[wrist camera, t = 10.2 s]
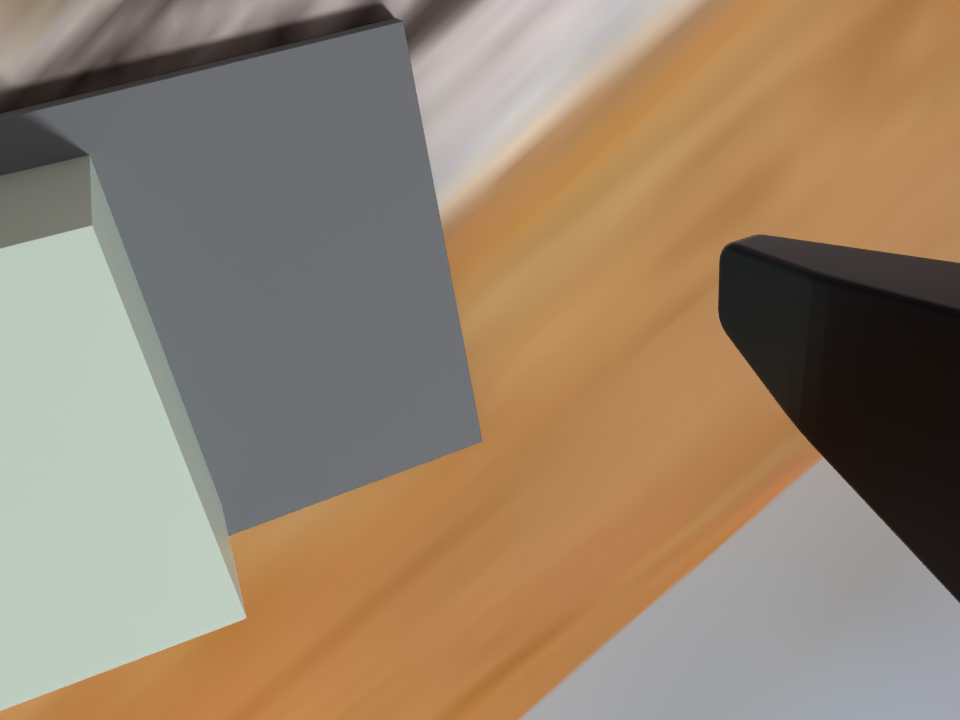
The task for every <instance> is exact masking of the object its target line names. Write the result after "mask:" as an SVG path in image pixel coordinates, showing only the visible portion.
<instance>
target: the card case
mask: <svg viewBox="0 0 960 720" xmlns="http://www.w3.org/2000/svg"><path fill="white" fill-rule="evenodd" d="M246 618H247V617H246V613H245V608H244V604H243V599H242V595H241V590H240V586H239V581H238V576H237V572H236V567H235V563H234V558H233V554H232V549H231V545H230V540H229V536H228V531H227V527H226V522H225V517H224V513H223V508H222V504H221V502H220V499H219V496H218V494H217V491H216V488H215V486H214V483H213V481H212V478H211V475H210V473H209V470H208V467H207V465H206V462H205V459H204V457H203V454H202V451H201V449H200V446H199V443H198V441H197V438H196V435H195V433H194V430H193V428H192V425H191V422H190V420H189V417H188V414H187V412H186V409H185V406H184V404H183V401H182V398H181V396H180V393H179V390H178V388H177V385H176V383H175V380H174V377H173V375H172V372H171V369H170V367H169V364H168V361H167V359H166V356H165V353H164V351H163V348H162V345H161V343H160V340H159V337H158V335H157V332H156V330H155V327H154V324H153V322H152V319H151V316H150V314H149V311H148V308H147V306H146V303H145V300H144V298H143V295H142V292H141V290H140V287H139V284H138V282H137V279H136V277H135V274H134V271H133V269H132V266H131V263H130V261H129V258H128V255H127V253H126V250H125V247H124V245H123V242H122V239H121V237H120V234H119V232H118V229H117V226H116V224H115V221H114V218H113V216H112V213H111V210H110V208H109V205H108V202H107V200H106V197H105V194H104V192H103V189H102V186H101V184H100V181H99V179H98V176H97V173H96V171H95V168H94V165H93V163H92V160H91V157H90V155H88V156H83V157H79V158H75V159H71V160H66V161H62V162H58V163H53V164H49V165H45V166H40V167H36V168H32V169H28V170H23V171H19V172H15V173H10V174H6V175H2V176H0V711H1V710H4V709H7V708H9V707H12V706H15V705H17V704H20V703H23V702H25V701H28V700H31V699H33V698H36V697H39V696H41V695H44V694H47V693H49V692H52V691H55V690H57V689H60V688H63V687H65V686H68V685H71V684H73V683H76V682H79V681H81V680H84V679H86V678H89V677H92V676H94V675H97V674H100V673H102V672H105V671H108V670H110V669H113V668H116V667H118V666H121V665H124V664H126V663H129V662H132V661H134V660H137V659H140V658H142V657H145V656H148V655H150V654H153V653H156V652H158V651H161V650H164V649H166V648H169V647H172V646H174V645H177V644H180V643H182V642H185V641H188V640H190V639H193V638H196V637H198V636H201V635H204V634H206V633H209V632H212V631H214V630H217V629H220V628H222V627H225V626H228V625H230V624H233V623H236V622H238V621H241V620H244V619H246Z"/></svg>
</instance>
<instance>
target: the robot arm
mask: <svg viewBox="0 0 960 720" xmlns="http://www.w3.org/2000/svg"><path fill="white" fill-rule="evenodd" d="M718 312H719V318H720V322H721V325H722V327H723V329H724V331H725V332H726V334H727V335H728V337H729V338H730V339H731V341H732V342H733V343H734V345H735V346H736V347H737V349H738V350H739V351H740V353H741V354H742V355H743V357H744V358H745V360H746V361H747V362H748V364H749V365H750V366H751V368H752V369H753V370H754V372H755V373H756V374H757V376H758V377H759V378H760V380H761V381H762V382H763V384H764V385H765V386H766V388H767V389H768V390H769V392H770V393H771V394H772V396H773V397H774V398H775V400H776V401H777V402H778V404H779V405H780V406H781V408H782V409H783V410H784V412H785V413H786V414H787V416H788V417H789V418H790V419H791V421H792V422H793V423H794V424H795V426H796V427H797V428H798V429H799V431H800V432H801V433H802V434H803V435H804V436H805V437H806V439H807V440H808V441H809V442H810V443H811V444H812V445H813V446H814V447H815V449H816V450H817V451H818V452H819V453H820V454H821V455H822V456H823V457H824V458H825V459H826V460H827V461H828V462H829V464H830V465H831V466H833V468H834V469H835V470H836V471H837V472H838V473H839V474H840V475H841V476H842V477H843V478H844V480H845V481H846V482H847V483H848V484H849V485H850V486H851V487H852V488H853V489H854V490H855V491H856V492H857V494H858V495H859V496H860V497H861V498H862V499H863V500H864V501H865V502H866V503H867V504H868V505H869V506H870V507H871V509H872V510H873V511H874V512H875V513H876V514H877V515H878V516H879V517H880V518H881V519H882V520H883V521H884V522H885V524H886V525H887V526H888V527H889V528H890V529H891V530H892V531H893V532H894V533H895V534H896V535H897V536H898V537H899V538H900V539H901V541H902V542H903V543H904V544H905V545H906V546H907V547H908V548H909V549H910V550H911V551H912V552H913V554H914V555H915V556H916V557H917V558H918V559H919V560H920V561H921V562H922V563H923V564H924V565H925V566H926V568H927V569H928V570H929V571H930V572H931V573H932V574H933V575H934V576H935V577H936V578H937V579H938V580H939V581H940V583H941V584H942V585H943V586H944V587H945V588H946V589H947V590H948V591H949V592H950V593H951V594H952V595H953V596H954V597H955V598H956V600H957V601H958V602H959V603H960V263H956V262H949V261H942V260H935V259H928V258H921V257H914V256H907V255H900V254H893V253H886V252H879V251H872V250H866V249H859V248H852V247H845V246H838V245H831V244H824V243H817V242H810V241H803V240H796V239H789V238H783V237H776V236H769V235H753V236H750V237H747V238H744V239H741V240H738V241H734V242H731V243H729V244H727V245H726V246H725V247H724V248H723V250H722V252H721V255H720V262H719V300H718Z"/></svg>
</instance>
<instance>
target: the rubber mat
mask: <svg viewBox="0 0 960 720" xmlns="http://www.w3.org/2000/svg"><path fill="white" fill-rule="evenodd" d="M88 155H90V157H91V160H92V163H93V165H94V168H95V171H96V173H97V176H98V179H99V181H100V184H101V186H102V189H103V192H104V194H105V197H106V200H107V202H108V205H109V208H110V210H111V213H112V216H113V218H114V221H115V224H116V226H117V229H118V232H119V234H120V237H121V239H122V242H123V245H124V247H125V250H126V253H127V255H128V258H129V261H130V263H131V266H132V269H133V271H134V274H135V277H136V279H137V282H138V284H139V287H140V290H141V292H142V295H143V298H144V300H145V303H146V306H147V308H148V311H149V314H150V316H151V319H152V322H153V324H154V327H155V330H156V332H157V335H158V337H159V340H160V343H161V345H162V348H163V351H164V353H165V356H166V359H167V361H168V364H169V367H170V369H171V372H172V375H173V377H174V380H175V383H176V385H177V388H178V390H179V393H180V396H181V398H182V401H183V404H184V406H185V409H186V412H187V414H188V417H189V420H190V422H191V425H192V428H193V430H194V433H195V435H196V438H197V441H198V443H199V446H200V449H201V451H202V454H203V457H204V459H205V462H206V465H207V467H208V470H209V473H210V475H211V478H212V481H213V483H214V486H215V488H216V491H217V494H218V496H219V499H220V502H221V504H222V508H223V513H224V517H225V522H226V527H227V531H228V536H230V535H232V534H235V533H238V532H240V531H243V530H246V529H249V528H251V527H254V526H257V525H259V524H262V523H265V522H267V521H270V520H273V519H275V518H278V517H281V516H284V515H286V514H289V513H292V512H294V511H297V510H300V509H302V508H305V507H308V506H310V505H313V504H316V503H319V502H321V501H324V500H327V499H329V498H332V497H335V496H337V495H340V494H343V493H345V492H348V491H351V490H354V489H356V488H359V487H362V486H364V485H367V484H370V483H372V482H375V481H378V480H380V479H383V478H386V477H389V476H391V475H394V474H397V473H399V472H402V471H405V470H407V469H410V468H413V467H415V466H418V465H421V464H424V463H426V462H429V461H432V460H434V459H437V458H440V457H442V456H445V455H448V454H450V453H453V452H456V451H459V450H461V449H464V448H467V447H469V446H472V445H475V444H477V443H480V442H482V437H481V432H480V427H479V421H478V416H477V411H476V405H475V400H474V395H473V390H472V384H471V379H470V374H469V368H468V363H467V358H466V353H465V347H464V342H463V337H462V331H461V326H460V321H459V316H458V310H457V305H456V300H455V295H454V289H453V284H452V279H451V273H450V268H449V263H448V258H447V252H446V247H445V242H444V236H443V231H442V226H441V221H440V215H439V210H438V205H437V199H436V194H435V189H434V184H433V178H432V173H431V168H430V163H429V157H428V152H427V147H426V141H425V136H424V131H423V126H422V120H421V115H420V110H419V104H418V99H417V94H416V89H415V83H414V78H413V73H412V67H411V62H410V57H409V52H408V46H407V41H406V36H405V30H404V25H403V21H401V20H399V19H397V18H393V19H389V20H385V21H381V22H377V23H373V24H368V25H364V26H360V27H356V28H352V29H348V30H344V31H339V32H335V33H331V34H327V35H323V36H319V37H315V38H311V39H306V40H302V41H298V42H294V43H290V44H286V45H282V46H277V47H273V48H269V49H265V50H261V51H257V52H253V53H248V54H244V55H240V56H236V57H232V58H228V59H224V60H220V61H215V62H211V63H207V64H203V65H199V66H195V67H191V68H186V69H182V70H178V71H174V72H170V73H166V74H162V75H157V76H153V77H149V78H145V79H141V80H137V81H133V82H129V83H124V84H120V85H116V86H112V87H108V88H104V89H100V90H95V91H91V92H87V93H83V94H79V95H75V96H71V97H66V98H62V99H58V100H54V101H50V102H46V103H42V104H38V105H33V106H29V107H25V108H21V109H17V110H13V111H9V112H4V113H0V176H2V175H6V174H10V173H15V172H19V171H23V170H28V169H32V168H36V167H40V166H45V165H49V164H53V163H58V162H62V161H66V160H71V159H75V158H79V157H83V156H88Z"/></svg>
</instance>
